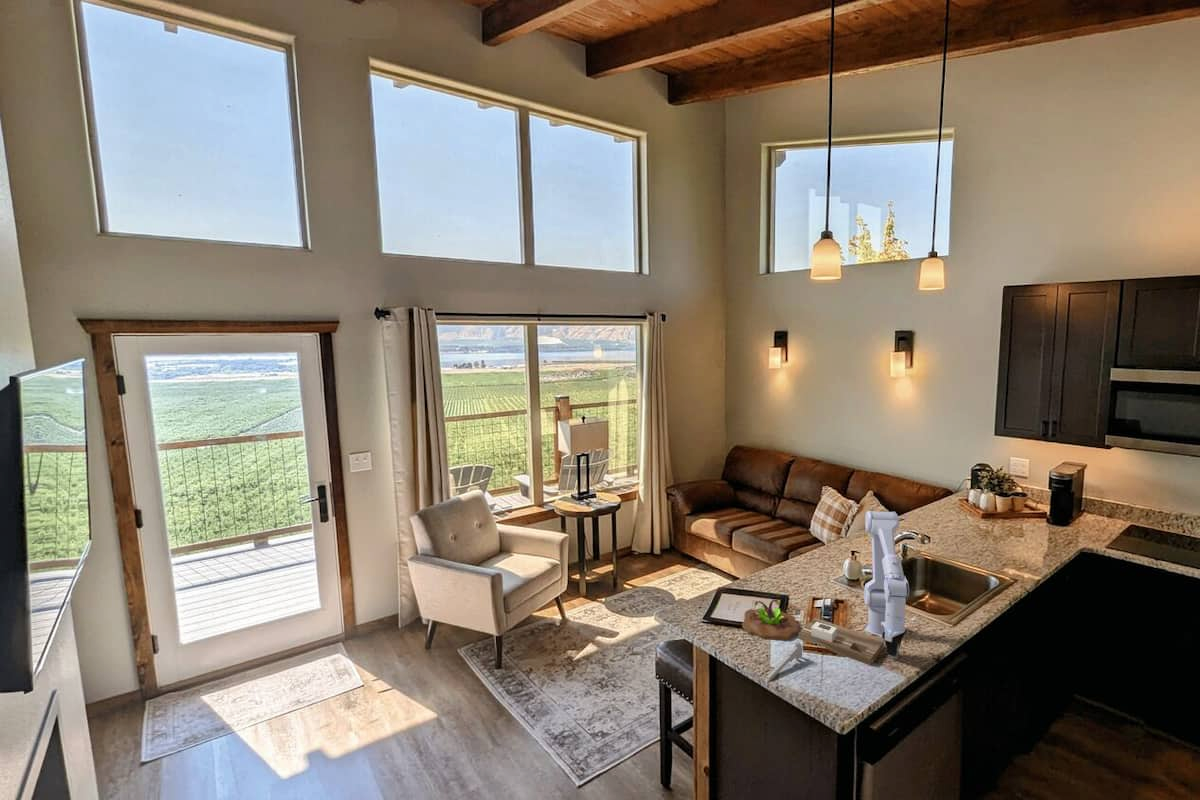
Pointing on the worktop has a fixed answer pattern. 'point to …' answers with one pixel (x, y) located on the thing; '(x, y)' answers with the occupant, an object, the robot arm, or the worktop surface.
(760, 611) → the plant
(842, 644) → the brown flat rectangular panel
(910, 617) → the worktop surface
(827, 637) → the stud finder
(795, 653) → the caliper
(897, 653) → the peg
